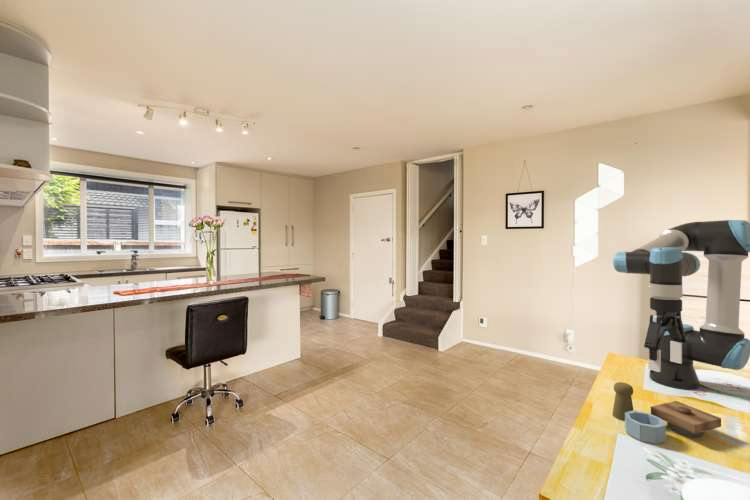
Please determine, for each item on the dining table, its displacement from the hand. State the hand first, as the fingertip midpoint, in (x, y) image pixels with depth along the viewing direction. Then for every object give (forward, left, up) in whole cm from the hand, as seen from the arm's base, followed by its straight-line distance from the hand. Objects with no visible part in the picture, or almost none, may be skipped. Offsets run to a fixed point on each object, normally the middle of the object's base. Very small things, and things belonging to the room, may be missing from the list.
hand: (665, 366), depth 105 cm
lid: (-3, +3, -16) cm, 17 cm away
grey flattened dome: (-3, +3, -19) cm, 19 cm away
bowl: (+11, +1, -19) cm, 22 cm away
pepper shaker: (+6, -9, -19) cm, 22 cm away
